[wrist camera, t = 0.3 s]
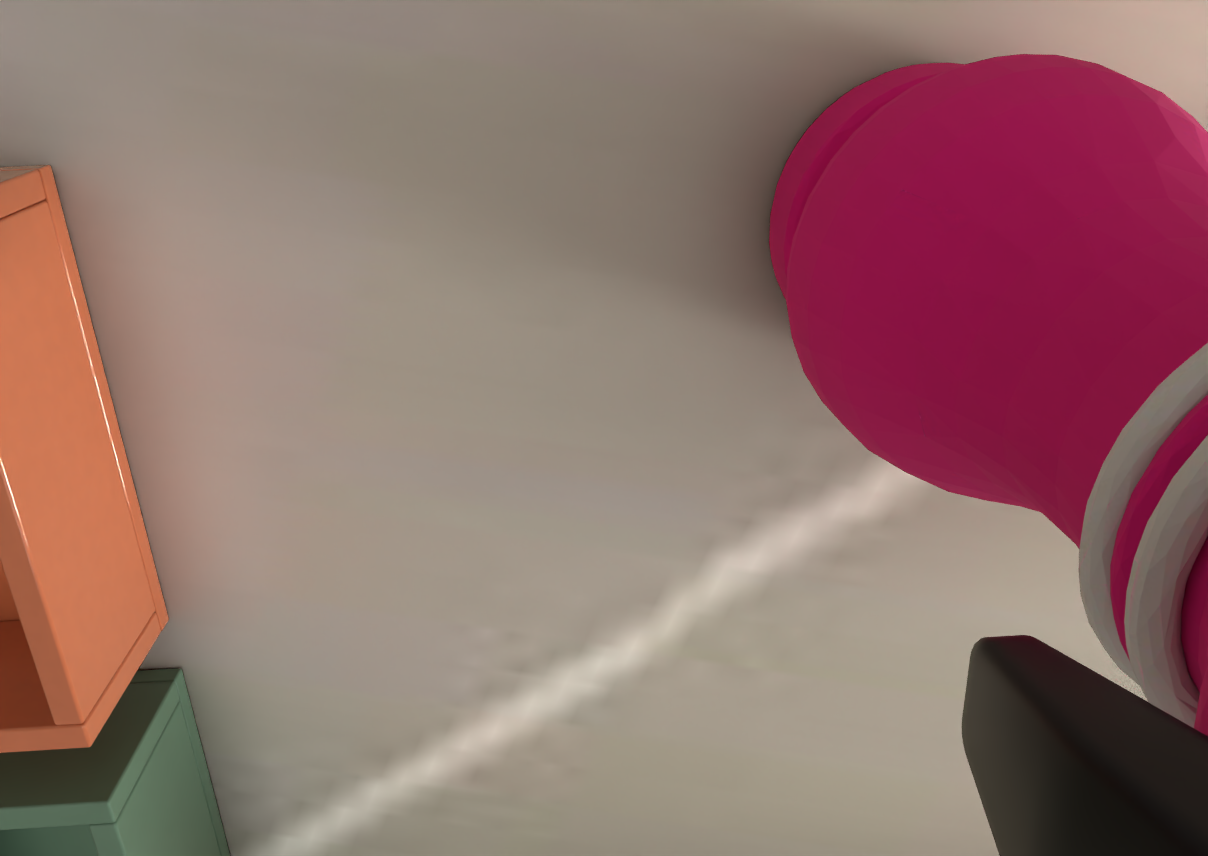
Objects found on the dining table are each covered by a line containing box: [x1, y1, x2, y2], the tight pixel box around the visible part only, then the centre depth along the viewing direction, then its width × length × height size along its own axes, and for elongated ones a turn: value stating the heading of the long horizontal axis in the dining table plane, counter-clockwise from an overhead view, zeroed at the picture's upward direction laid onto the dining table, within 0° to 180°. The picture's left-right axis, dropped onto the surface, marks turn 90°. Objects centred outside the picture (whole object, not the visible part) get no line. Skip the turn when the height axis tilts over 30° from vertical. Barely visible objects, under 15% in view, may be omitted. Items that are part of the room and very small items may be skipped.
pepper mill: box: [769, 54, 1208, 736], centre depth 12 cm, size 7×7×20 cm
